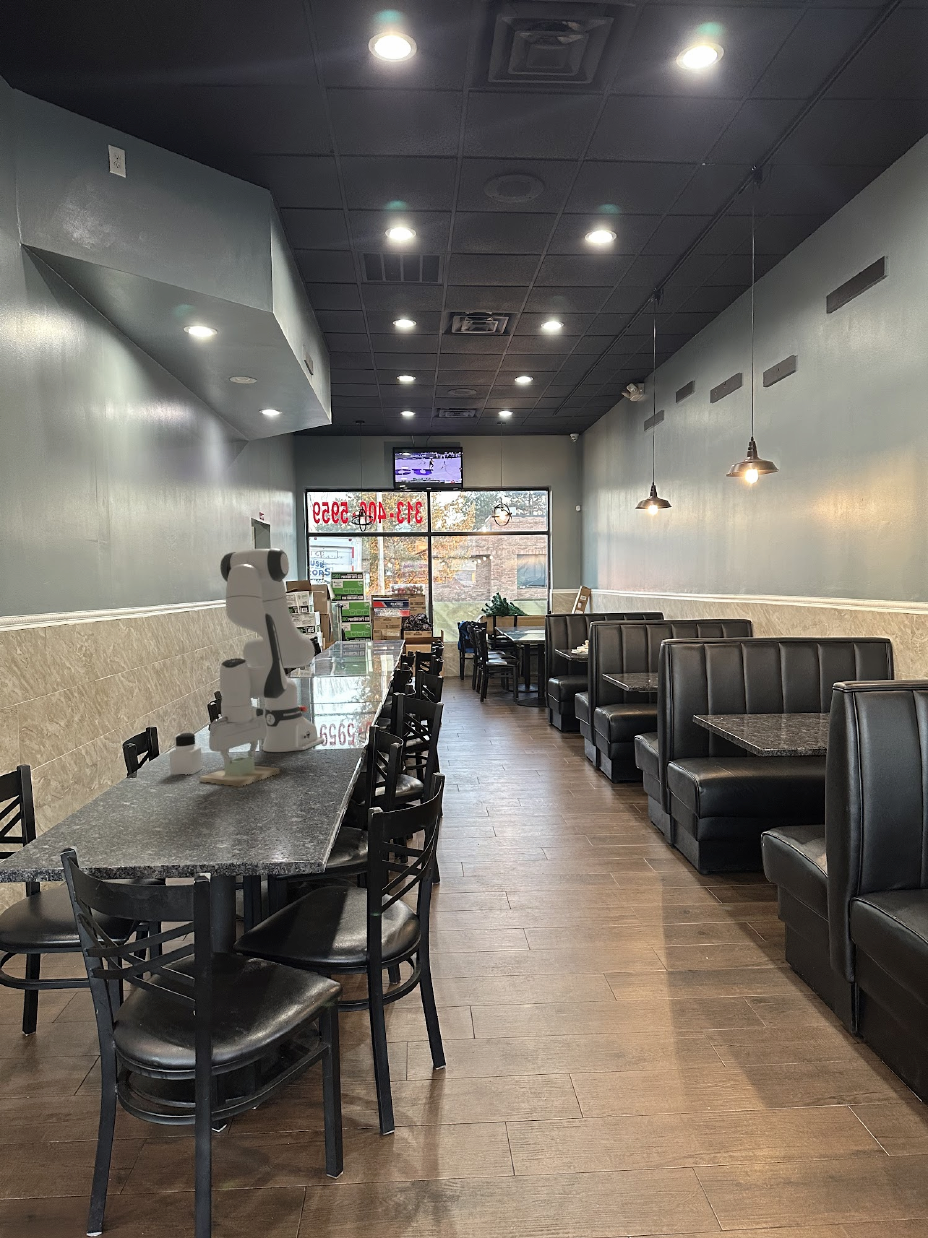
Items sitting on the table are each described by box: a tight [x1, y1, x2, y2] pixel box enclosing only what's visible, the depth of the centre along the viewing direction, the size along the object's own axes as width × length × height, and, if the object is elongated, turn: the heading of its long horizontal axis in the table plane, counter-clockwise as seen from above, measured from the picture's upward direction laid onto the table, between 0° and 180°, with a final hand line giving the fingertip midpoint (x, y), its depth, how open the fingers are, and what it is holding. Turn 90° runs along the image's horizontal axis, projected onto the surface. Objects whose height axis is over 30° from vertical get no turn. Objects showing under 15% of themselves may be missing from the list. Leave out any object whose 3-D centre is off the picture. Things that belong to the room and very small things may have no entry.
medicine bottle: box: [169, 732, 203, 776], centre depth 245 cm, size 7×7×12 cm
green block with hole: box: [224, 755, 256, 776], centre depth 235 cm, size 6×6×4 cm
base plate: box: [199, 765, 280, 788], centre depth 235 cm, size 16×16×4 cm
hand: (240, 760), depth 235 cm, fingers open, 8 cm apart
